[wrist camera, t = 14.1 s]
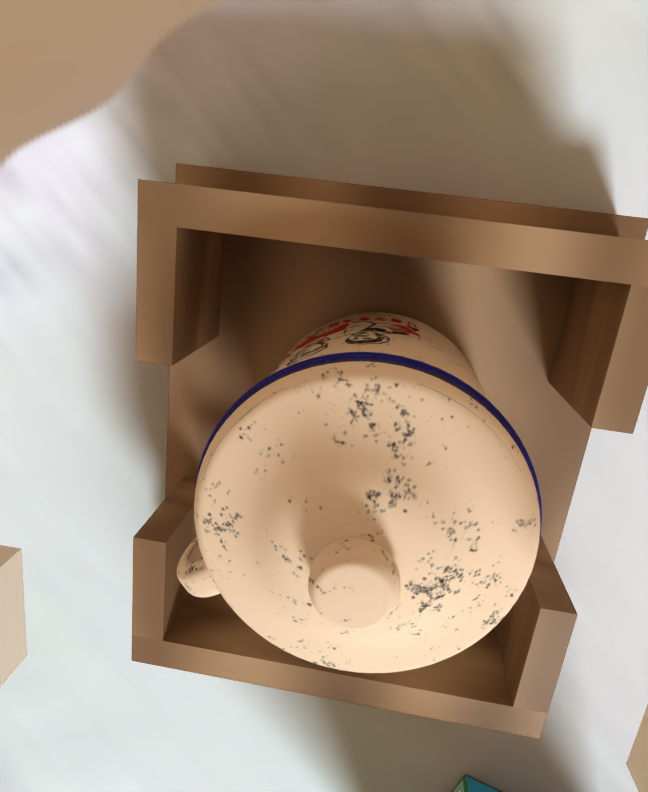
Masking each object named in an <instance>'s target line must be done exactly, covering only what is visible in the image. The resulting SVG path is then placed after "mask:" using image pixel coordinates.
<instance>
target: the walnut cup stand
mask: <svg viewBox="0 0 648 792" xmlns="http://www.w3.org/2000/svg"><path fill="white" fill-rule="evenodd" d="M647 229H648V219H647V218H639V217H630V216H622V215H613V214H605V213H596V212H588V211H579V210H570V209H562V208H553V207H545V206H536V205H528V204H519V203H511V202H502V201H494V200H485V199H476V198H468V197H459V196H451V195H442V194H434V193H425V192H417V191H408V190H400V189H391V188H382V187H374V186H365V185H357V184H348V183H340V182H331V181H323V180H314V179H306V178H297V177H288V176H280V175H271V174H263V173H254V172H246V171H237V170H229V169H220V168H212V167H203V166H194V165H186V164H177V163H176V184H174V183H166V182H157V181H149V180H141V179H138V228H137V303H136V361H142V362H149V363H155V364H162V365H169V366H170V372H169V403H168V433H167V464H166V495H165V500H164V501H163V502H162V504H161V505H160V506H159V507H158V508H157V510H156V511H155V512H154V513H153V514H152V516H151V517H150V518H149V519H148V520H147V522H146V523H145V524H144V525H143V526H142V528H141V529H140V530H139V531H138V532H137V534H136V535H135V536H134V537H133V605H132V661H137V662H142V663H147V664H152V665H157V666H163V667H168V668H173V669H178V670H183V671H189V672H194V673H199V674H204V675H209V676H215V677H220V678H225V679H230V680H235V681H241V682H246V683H251V684H256V685H261V686H267V687H272V688H277V689H282V690H287V691H293V692H298V693H303V694H308V695H313V696H319V697H324V698H329V699H334V700H339V701H345V702H350V703H355V704H360V705H365V706H371V707H376V708H381V709H386V710H391V711H397V712H402V713H407V714H412V715H417V716H423V717H428V718H433V719H438V720H443V721H449V722H454V723H459V724H464V725H469V726H475V727H480V728H485V729H490V730H495V731H501V732H506V733H511V734H516V735H521V736H527V737H532V738H537V739H540V736H541V732H542V729H543V726H544V723H545V719H546V716H547V713H548V709H549V706H550V703H551V700H552V696H553V693H554V690H555V687H556V683H557V680H558V677H559V673H560V670H561V667H562V664H563V660H564V657H565V654H566V651H567V647H568V644H569V641H570V637H571V634H572V631H573V628H574V624H575V621H576V618H577V612H576V610H575V608H574V606H573V604H572V602H571V599H570V597H569V595H568V593H567V591H566V589H565V586H564V584H563V582H562V580H561V578H560V576H559V573H558V571H557V569H556V567H555V565H554V560H555V557H556V553H557V549H558V546H559V542H560V539H561V535H562V532H563V528H564V524H565V521H566V517H567V514H568V510H569V507H570V503H571V500H572V496H573V492H574V489H575V485H576V482H577V478H578V475H579V471H580V467H581V464H582V460H583V457H584V453H585V450H586V446H587V442H588V439H589V435H590V432H591V428H597V429H603V430H610V431H617V432H624V433H631V434H633V431H634V428H635V425H636V422H637V418H638V415H639V412H640V409H641V405H642V402H643V399H644V396H645V392H646V389H647V386H648V240H644V239H645V236H646V232H647ZM364 312H384V313H392V314H398V315H402V316H406V317H409V318H412V319H415V320H417V321H420V322H422V323H424V324H426V325H428V326H430V327H432V328H433V329H435V330H437V331H438V332H440V333H441V334H442V335H444V336H445V337H446V338H448V339H449V340H450V341H451V342H452V343H453V344H454V345H455V346H456V347H457V348H458V349H459V350H460V351H461V353H462V354H463V355H464V356H465V358H466V359H467V361H468V362H469V364H470V365H471V367H472V369H473V371H474V372H475V374H476V376H477V378H478V380H479V382H480V384H481V386H482V388H483V390H484V392H485V394H486V396H487V397H488V399H489V401H490V402H491V403H492V404H493V405H494V406H495V407H496V408H497V409H498V410H499V411H500V412H501V414H502V415H503V416H504V417H505V418H506V420H507V421H508V422H509V423H510V424H511V426H512V427H513V429H514V430H515V432H516V433H517V435H518V436H519V438H520V439H521V441H522V443H523V445H524V447H525V449H526V451H527V452H528V455H529V457H530V460H531V462H532V465H533V467H534V470H535V473H536V477H537V481H538V484H539V490H540V496H541V503H542V526H541V536H540V541H539V547H538V551H537V556H536V560H535V563H534V566H533V569H532V572H531V574H530V577H529V579H528V581H527V584H526V586H525V588H524V589H523V591H522V593H521V594H520V596H519V598H518V600H517V601H516V602H515V604H514V605H513V606H512V608H511V609H510V611H509V612H508V613H507V614H506V615H505V616H504V618H503V619H502V620H501V621H500V622H499V623H498V624H497V625H496V626H495V627H494V628H493V629H492V630H491V631H490V632H489V633H487V634H486V635H485V636H484V637H483V638H481V639H480V640H478V641H477V642H476V643H474V644H473V645H471V646H470V647H468V648H466V649H465V650H463V651H461V652H460V653H458V654H455V655H453V656H451V657H449V658H447V659H445V660H442V661H439V662H437V663H434V664H431V665H427V666H424V667H420V668H416V669H411V670H406V671H399V672H390V673H360V672H351V671H343V670H338V669H333V668H329V667H325V666H321V665H318V664H315V663H312V662H309V661H306V660H304V659H301V658H299V657H296V656H294V655H292V654H290V653H288V652H286V651H284V650H282V649H281V648H279V647H277V646H276V645H274V644H272V643H271V642H269V641H268V640H266V639H265V638H263V637H262V636H261V635H259V634H258V633H257V632H255V631H254V630H253V629H252V628H251V627H249V626H248V625H247V624H246V623H245V622H244V621H243V620H242V619H241V618H240V617H239V616H238V615H237V614H236V613H235V612H234V610H233V609H232V608H231V607H230V606H229V604H228V603H227V602H226V600H225V599H224V598H223V596H222V595H221V593H220V594H217V595H214V596H210V597H196V596H193V595H192V594H190V593H189V592H188V591H187V590H186V589H185V588H184V586H183V585H182V584H181V582H180V581H179V579H178V577H177V566H178V563H179V561H180V558H181V557H182V555H183V553H184V552H185V550H186V549H187V548H188V546H189V545H190V544H191V542H192V541H193V540H194V539H195V538H196V536H197V535H196V529H195V521H194V492H195V481H196V476H197V471H198V467H199V463H200V460H201V457H202V454H203V451H204V449H205V447H206V445H207V442H208V440H209V438H210V436H211V434H212V433H213V431H214V429H215V427H216V426H217V424H218V423H219V421H220V420H221V419H222V417H223V416H224V415H225V413H226V412H227V411H228V410H229V409H230V408H231V406H232V405H233V404H234V403H235V402H236V401H237V400H238V399H239V398H240V397H241V396H242V395H244V394H245V393H246V392H247V391H248V390H249V389H250V388H252V387H253V386H255V385H256V384H257V383H259V382H260V381H262V380H263V379H265V378H266V377H268V376H269V375H270V374H271V372H272V371H273V370H274V369H275V368H276V366H277V365H278V364H279V363H280V362H281V360H282V359H283V358H284V357H285V356H286V354H287V353H288V352H289V351H290V350H291V349H292V347H293V346H294V345H295V344H296V343H297V342H298V341H299V340H301V339H302V338H303V337H304V336H305V335H307V334H308V333H309V332H311V331H312V330H314V329H315V328H317V327H319V326H321V325H322V324H324V323H327V322H329V321H331V320H334V319H337V318H340V317H343V316H347V315H351V314H356V313H364Z"/></svg>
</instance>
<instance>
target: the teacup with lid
mask: <svg viewBox="0 0 648 792" xmlns="http://www.w3.org/2000/svg"><path fill="white" fill-rule="evenodd" d="M194 521H195V529H196V535H197V536H196V538H195V539H194V540H193V541H192V542H191V544H190V545H189V546H188V548H187V549H186V550H185V552H184V553H183V555H182V557H181V558H180V561H179V563H178V566H177V577H178V579H179V581H180V582H181V584H182V585H183V586H184V588H185V589H186V590H187V591H188V592H189V593H190V594H192V595H193V596H196V597H210V596H214V595H217V594H220V593H221V595H222V596H223V598H224V599H225V600H226V602H227V603H228V604H229V606H230V607H231V608H232V609H233V610H234V612H235V613H236V614H237V615H238V616H239V617H240V618H241V619H242V620H243V621H244V622H245V623H246V624H247V625H248V626H249V627H251V628H252V629H253V630H254V631H255V632H257V633H258V634H259V635H261V636H262V637H263V638H265V639H266V640H268V641H269V642H271V643H272V644H274V645H276V646H277V647H279V648H281V649H282V650H284V651H286V652H288V653H290V654H292V655H294V656H296V657H299V658H301V659H304V660H306V661H309V662H312V663H315V664H318V665H321V666H325V667H329V668H333V669H338V670H343V671H351V672H360V673H390V672H399V671H406V670H411V669H416V668H420V667H424V666H427V665H431V664H434V663H437V662H439V661H442V660H445V659H447V658H449V657H451V656H453V655H455V654H458V653H460V652H461V651H463V650H465V649H466V648H468V647H470V646H471V645H473V644H474V643H476V642H477V641H478V640H480V639H481V638H483V637H484V636H485V635H486V634H487V633H489V632H490V631H491V630H492V629H493V628H494V627H495V626H496V625H497V624H498V623H499V622H500V621H501V620H502V619H503V618H504V616H505V615H506V614H507V613H508V612H509V611H510V609H511V608H512V606H513V605H514V604H515V602H516V601H517V600H518V598H519V596H520V594H521V593H522V591H523V589H524V588H525V586H526V584H527V581H528V579H529V577H530V574H531V572H532V569H533V566H534V563H535V560H536V556H537V551H538V547H539V541H540V536H541V526H542V503H541V496H540V490H539V484H538V481H537V477H536V473H535V470H534V467H533V465H532V462H531V460H530V457H529V455H528V452H527V451H526V449H525V447H524V445H523V443H522V441H521V439H520V438H519V436H518V435H517V433H516V432H515V430H514V429H513V427H512V426H511V424H510V423H509V422H508V421H507V420H506V418H505V417H504V416H503V415H502V414H501V412H500V411H499V410H498V409H497V408H496V407H495V406H494V405H493V404H492V403H491V402H490V401H489V399H488V397H487V396H486V394H485V392H484V390H483V388H482V386H481V384H480V382H479V380H478V378H477V376H476V374H475V372H474V371H473V369H472V367H471V365H470V364H469V362H468V361H467V359H466V358H465V356H464V355H463V354H462V353H461V351H460V350H459V349H458V348H457V347H456V346H455V345H454V344H453V343H452V342H451V341H450V340H449V339H448V338H446V337H445V336H444V335H442V334H441V333H440V332H438V331H437V330H435V329H433V328H432V327H430V326H428V325H426V324H424V323H422V322H420V321H417V320H415V319H412V318H409V317H406V316H402V315H398V314H392V313H384V312H364V313H356V314H351V315H347V316H343V317H340V318H337V319H334V320H331V321H329V322H327V323H324V324H322V325H321V326H319V327H317V328H315V329H314V330H312V331H311V332H309V333H308V334H307V335H305V336H304V337H303V338H302V339H301V340H299V341H298V342H297V343H296V344H295V345H294V346H293V347H292V349H291V350H290V351H289V352H288V353H287V354H286V356H285V357H284V358H283V359H282V360H281V362H280V363H279V364H278V365H277V366H276V368H275V369H274V370H273V371H272V372H271V374H270V375H269V376H268V377H266V378H265V379H263V380H262V381H260V382H259V383H257V384H256V385H255V386H253V387H252V388H250V389H249V390H248V391H247V392H246V393H245V394H244V395H242V396H241V397H240V398H239V399H238V400H237V401H236V402H235V403H234V404H233V405H232V406H231V408H230V409H229V410H228V411H227V412H226V413H225V415H224V416H223V417H222V419H221V420H220V421H219V423H218V424H217V426H216V427H215V429H214V431H213V433H212V434H211V436H210V438H209V440H208V442H207V445H206V447H205V449H204V451H203V454H202V457H201V460H200V463H199V467H198V471H197V476H196V481H195V492H194Z"/></svg>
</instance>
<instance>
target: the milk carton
mask: <svg viewBox="0 0 648 792" xmlns="http://www.w3.org/2000/svg"><path fill="white" fill-rule="evenodd" d="M453 792H499V791H497V790H495V789H493V788H491V787H489V786H487V785H485V784H483V783H480V782H478V781H476V780H474V779H472V778H470V777H468V776H465V777H464V778H463V780H462V781H461V782H460V784H459V785H458V786H457V787H456V789H455V790H454V791H453Z"/></svg>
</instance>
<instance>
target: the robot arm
mask: <svg viewBox="0 0 648 792" xmlns="http://www.w3.org/2000/svg"><path fill="white" fill-rule="evenodd" d="M26 656H27V651H26V631H25V611H24V592H23V572H22V552H21V549H20V548H14V547H8V546H2V545H0V687H1V686H2V684H3V683H4V682H5V681H6V680H7V678H8V677H9V676H10V675H11V674H12V673H13V671H14V670H15V669H16V668H17V667H18V665H19V664H20V663H21V662H22V661H23V659H24V658H25V657H26ZM626 764H627V766H628V769H629V771H630V773H631V775H632V778H633V780H634V782H635V784H636V786H637V789H638V791H639V792H648V705H647V708H646V711H645V714H644V716H643V719H642V722H641V725H640V727H639V730H638V733H637V736H636V738H635V741H634V744H633V746H632V749H631V752H630V755H629V757H628V760H627V763H626Z"/></svg>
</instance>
